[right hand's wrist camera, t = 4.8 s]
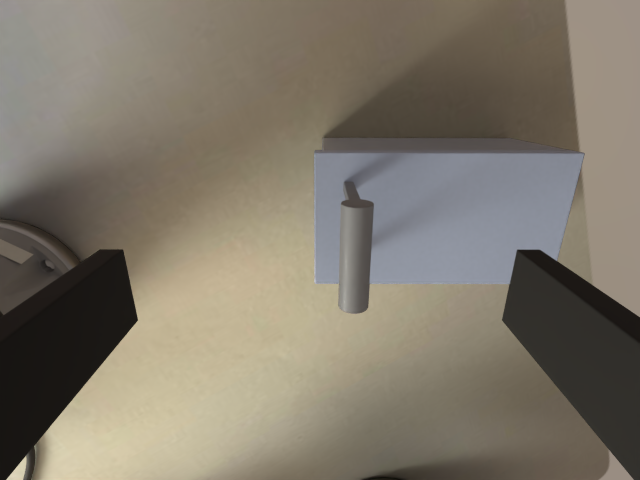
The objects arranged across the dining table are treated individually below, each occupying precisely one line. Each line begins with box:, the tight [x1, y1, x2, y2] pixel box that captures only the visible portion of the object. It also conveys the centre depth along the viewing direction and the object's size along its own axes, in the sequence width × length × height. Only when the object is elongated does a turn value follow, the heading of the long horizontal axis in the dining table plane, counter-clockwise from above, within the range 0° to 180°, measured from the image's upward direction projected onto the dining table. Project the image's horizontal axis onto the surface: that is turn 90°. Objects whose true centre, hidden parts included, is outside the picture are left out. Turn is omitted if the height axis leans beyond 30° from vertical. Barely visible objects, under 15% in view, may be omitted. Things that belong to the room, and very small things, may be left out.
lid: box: [314, 150, 585, 314], centre depth 24 cm, size 18×10×8 cm, turn 90°
